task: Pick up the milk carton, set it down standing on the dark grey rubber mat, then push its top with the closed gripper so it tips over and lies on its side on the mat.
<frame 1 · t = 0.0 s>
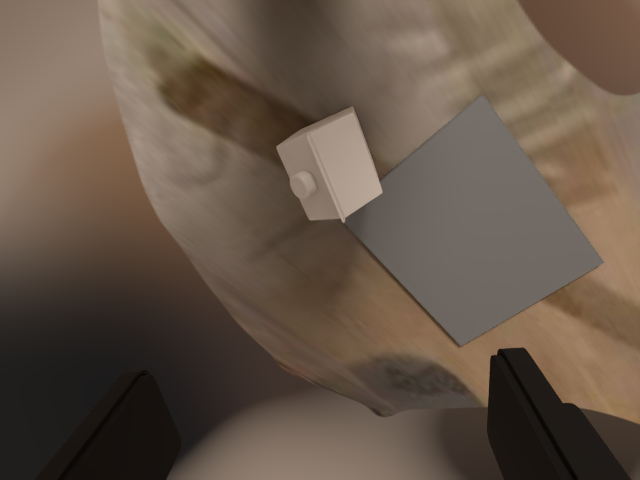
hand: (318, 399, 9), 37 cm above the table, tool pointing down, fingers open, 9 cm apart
mat: (468, 237, 46), on the table
milk carton: (336, 145, 43), on the table
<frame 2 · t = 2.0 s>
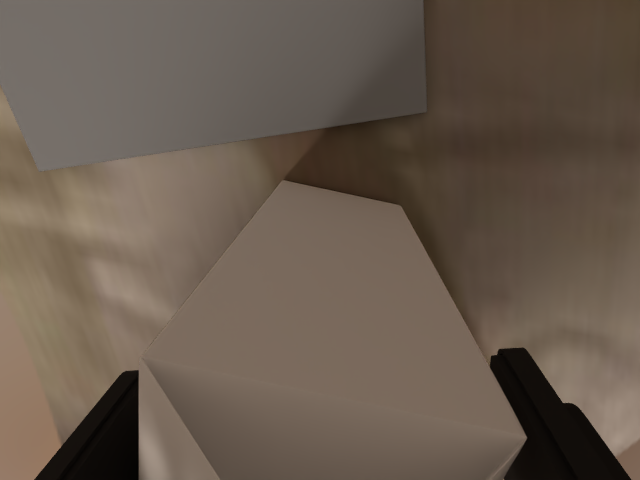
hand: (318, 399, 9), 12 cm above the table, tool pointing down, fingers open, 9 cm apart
milk carton: (329, 244, 21), on the table
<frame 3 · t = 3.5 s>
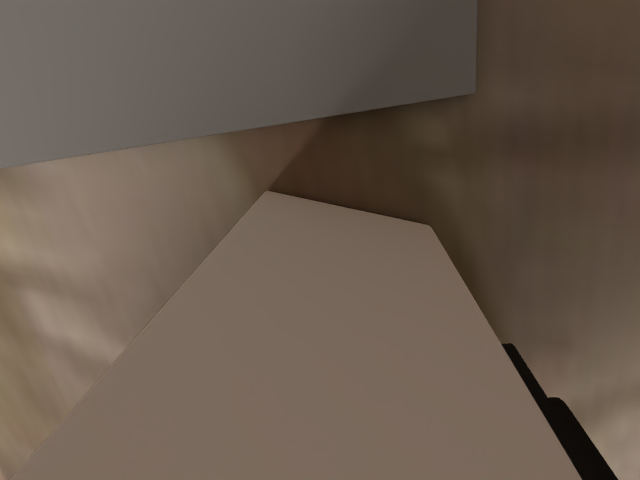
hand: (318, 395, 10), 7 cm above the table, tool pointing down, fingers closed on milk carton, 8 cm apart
milk carton: (331, 275, 16), on the table, touching gripper
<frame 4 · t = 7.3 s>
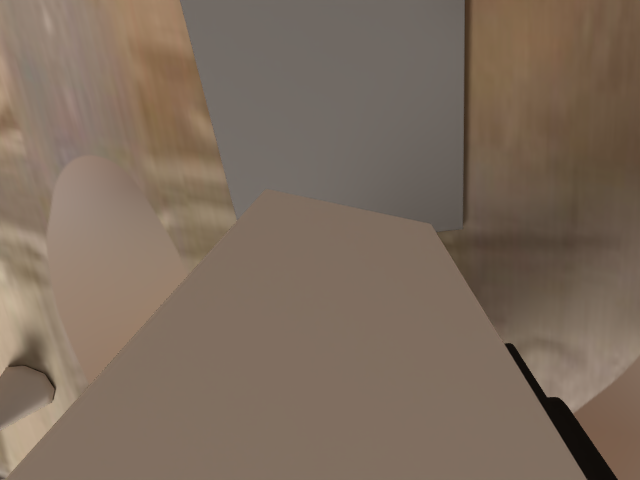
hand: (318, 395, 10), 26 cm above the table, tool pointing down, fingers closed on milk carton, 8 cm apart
mat: (330, 91, 30), on the table
milk carton: (331, 274, 16), point 19 cm above the table, touching gripper
flask: (32, 382, 48), on the table
when the fingers open (8 cm above the table, at t = 11.3 s): milk carton stays where it is, resting on mat.
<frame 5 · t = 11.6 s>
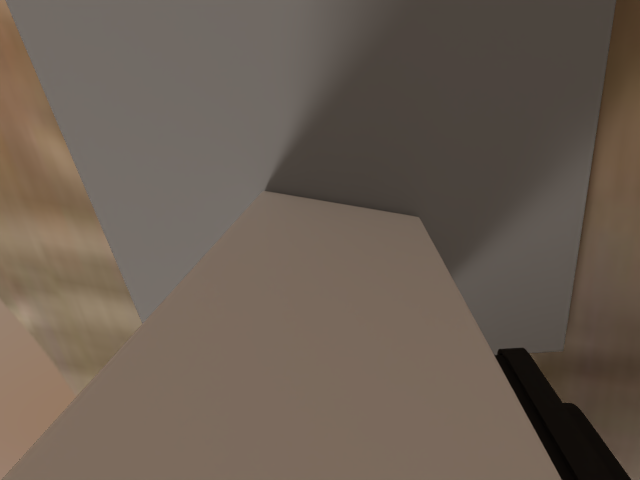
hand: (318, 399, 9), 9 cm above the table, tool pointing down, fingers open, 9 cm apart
mat: (307, 89, 14), on the table
milk carton: (328, 268, 17), point 1 cm above the table, touching mat
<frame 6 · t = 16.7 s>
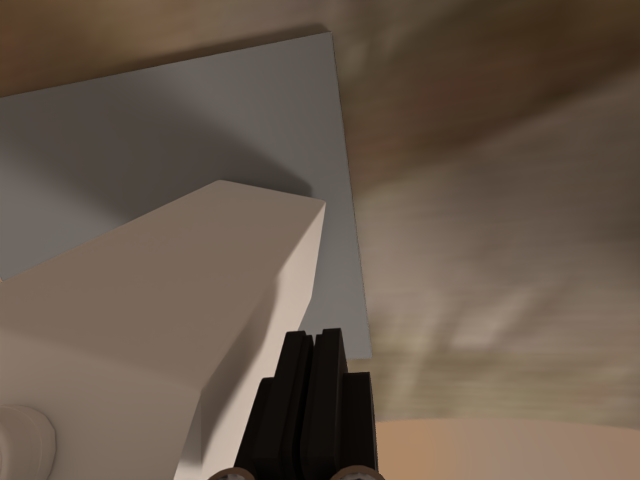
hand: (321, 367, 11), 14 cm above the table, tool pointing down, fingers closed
mat: (164, 242, 25), on the table
milk carton: (268, 238, 23), point 1 cm above the table, touching mat
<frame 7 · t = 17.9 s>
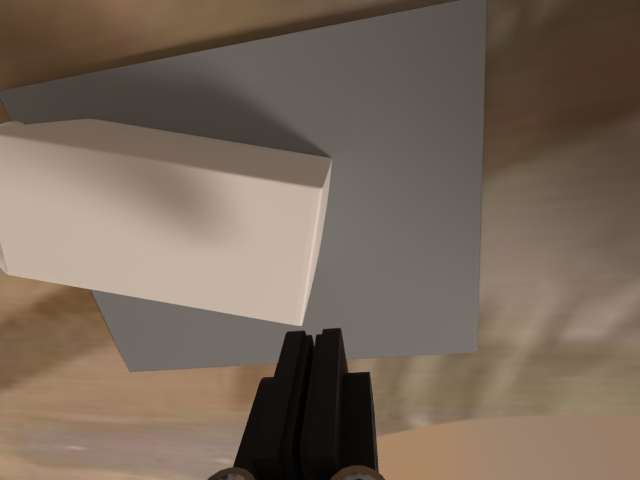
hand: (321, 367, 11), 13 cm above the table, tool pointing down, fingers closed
mat: (263, 229, 23), on the table
milk carton: (325, 235, 19), point 4 cm above the table, touching mat
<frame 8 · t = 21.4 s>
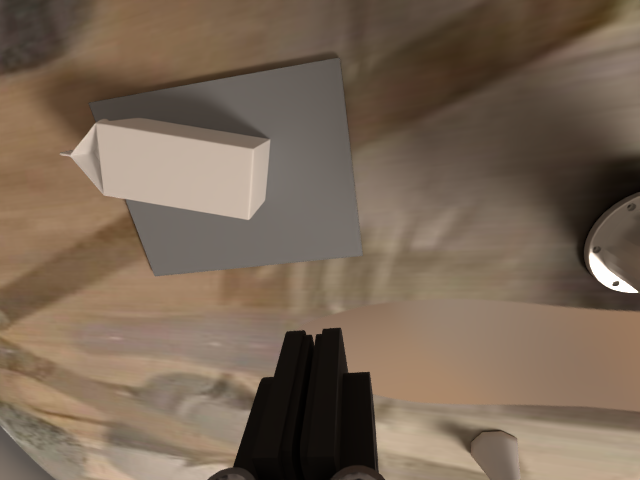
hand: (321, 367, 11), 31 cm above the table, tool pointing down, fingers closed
mat: (235, 181, 41), on the table
milk carton: (263, 178, 36), point 4 cm above the table, touching mat
flask: (492, 444, 55), on the table
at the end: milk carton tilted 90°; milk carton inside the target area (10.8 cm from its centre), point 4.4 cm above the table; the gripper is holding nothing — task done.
